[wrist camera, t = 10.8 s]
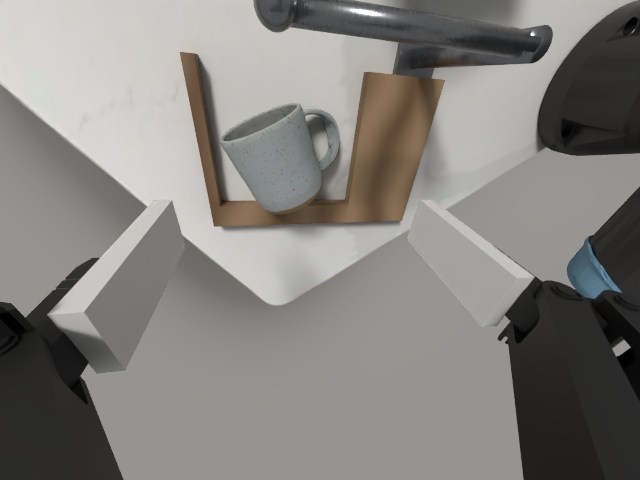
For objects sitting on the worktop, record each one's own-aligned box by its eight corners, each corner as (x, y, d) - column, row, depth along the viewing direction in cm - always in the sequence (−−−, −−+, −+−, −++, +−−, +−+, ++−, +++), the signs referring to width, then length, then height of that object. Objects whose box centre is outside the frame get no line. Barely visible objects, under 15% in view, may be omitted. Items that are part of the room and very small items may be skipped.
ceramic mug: (263, 198, 28) (265, 231, 22) (223, 129, 24) (211, 148, 17) (344, 161, 28) (369, 185, 22) (320, 83, 23) (343, 86, 17)
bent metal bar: (439, 34, 23) (612, -6, 11) (426, 84, 25) (559, 92, 14) (256, 7, 19) (248, -89, 8) (260, 68, 21) (256, 59, 10)
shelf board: (436, 79, 25) (444, 80, 24) (396, 215, 34) (401, 220, 32) (184, 53, 20) (179, 52, 19) (216, 220, 29) (214, 226, 28)
